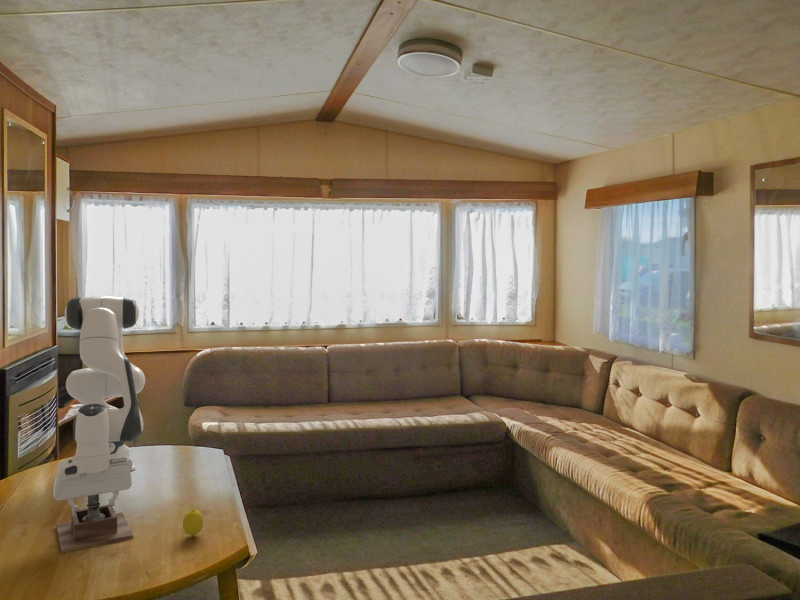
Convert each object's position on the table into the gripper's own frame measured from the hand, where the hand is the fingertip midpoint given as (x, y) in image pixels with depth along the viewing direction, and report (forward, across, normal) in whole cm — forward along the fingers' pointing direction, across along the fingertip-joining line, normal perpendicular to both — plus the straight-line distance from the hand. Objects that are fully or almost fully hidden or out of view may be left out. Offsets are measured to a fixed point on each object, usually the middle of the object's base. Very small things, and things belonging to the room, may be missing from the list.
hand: (93, 509), depth 181 cm
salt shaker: (+6, 0, 0) cm, 6 cm away
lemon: (+7, -24, +16) cm, 30 cm away
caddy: (+7, 0, 0) cm, 7 cm away
